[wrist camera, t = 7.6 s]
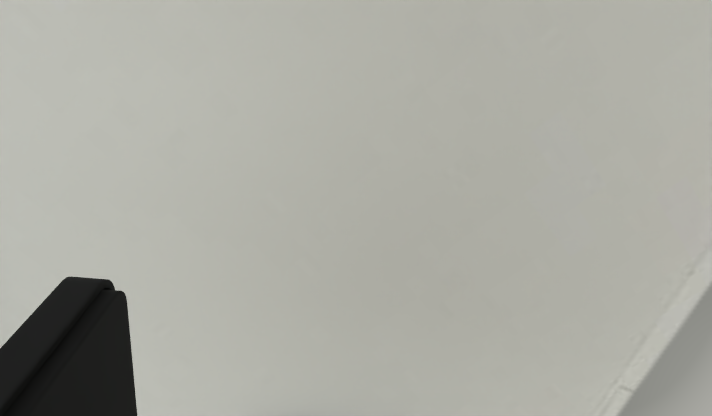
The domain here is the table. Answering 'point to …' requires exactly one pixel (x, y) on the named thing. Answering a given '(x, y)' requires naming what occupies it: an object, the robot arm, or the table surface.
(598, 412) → the table surface
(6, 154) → the table surface
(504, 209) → the table surface
